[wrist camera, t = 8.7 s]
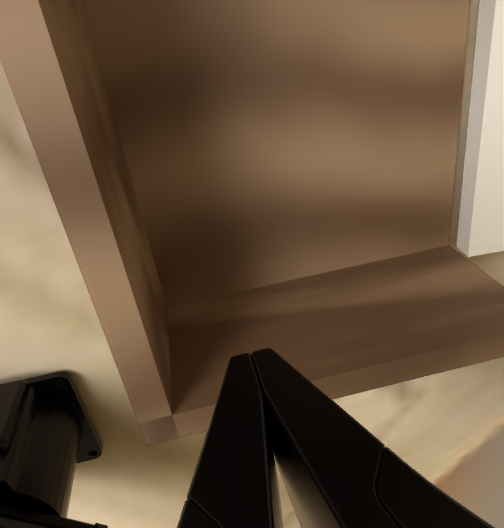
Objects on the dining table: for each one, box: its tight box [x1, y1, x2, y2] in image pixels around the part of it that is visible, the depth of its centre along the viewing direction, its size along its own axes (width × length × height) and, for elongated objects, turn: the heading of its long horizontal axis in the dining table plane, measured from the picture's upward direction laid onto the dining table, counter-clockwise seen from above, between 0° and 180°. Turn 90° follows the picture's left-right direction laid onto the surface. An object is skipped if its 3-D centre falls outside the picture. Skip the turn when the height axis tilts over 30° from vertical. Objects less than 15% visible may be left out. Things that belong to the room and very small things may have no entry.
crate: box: [0, 0, 504, 446], centre depth 16 cm, size 20×16×8 cm
